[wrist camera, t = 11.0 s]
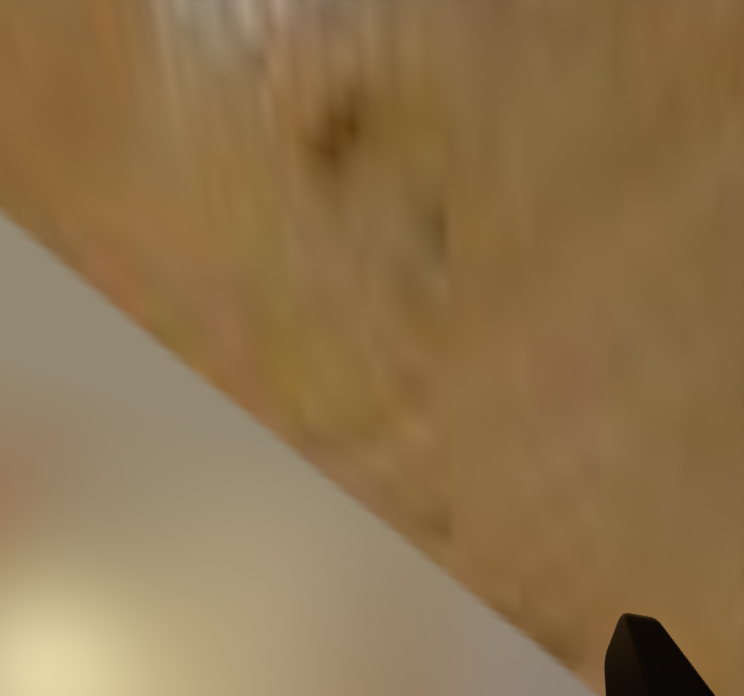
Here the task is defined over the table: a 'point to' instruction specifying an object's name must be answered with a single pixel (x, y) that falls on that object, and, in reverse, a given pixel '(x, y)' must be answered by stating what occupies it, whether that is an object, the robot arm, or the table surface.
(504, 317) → the table surface
